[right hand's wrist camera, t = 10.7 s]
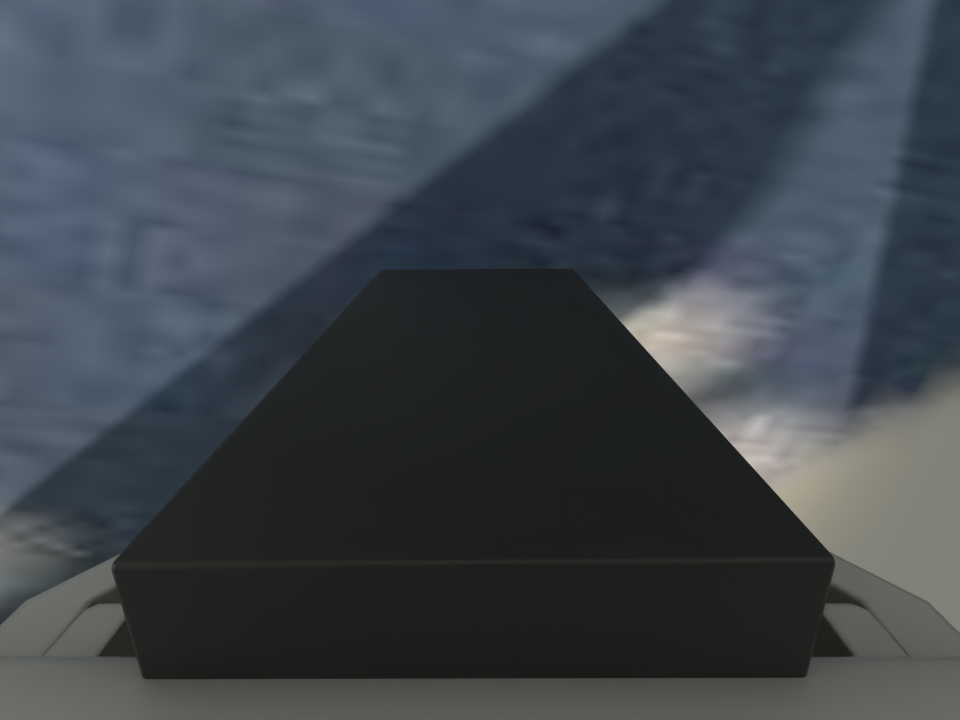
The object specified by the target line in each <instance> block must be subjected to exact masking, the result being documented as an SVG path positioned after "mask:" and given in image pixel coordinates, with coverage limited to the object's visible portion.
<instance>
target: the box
mask: <svg viewBox="0 0 960 720" xmlns="http://www.w3.org/2000/svg"><path fill="white" fill-rule="evenodd" d="M834 569H835V560H834V557H833V556H832V555H831V554H830V553H829V551H828V550H827V549H826V548H825V547H824V546H823V545H822V544H821V543H820V542H819V540H818V539H817V538H816V537H815V536H814V535H813V534H812V533H811V532H810V531H809V529H808V528H807V527H806V526H805V525H804V524H803V523H802V522H801V521H800V519H799V518H798V517H797V516H796V515H795V514H794V513H793V512H792V511H791V510H790V508H789V507H788V506H787V505H786V504H785V503H784V502H783V501H782V500H781V499H780V497H779V496H778V495H777V494H776V493H775V492H774V491H773V490H772V489H771V487H770V486H769V485H768V484H767V483H766V482H765V481H764V480H763V479H762V478H761V476H760V475H759V474H758V473H757V472H756V471H755V470H754V469H753V468H752V467H751V465H750V464H749V463H748V462H747V461H746V460H745V459H744V458H743V457H742V455H741V454H740V453H739V452H738V451H737V450H736V449H735V448H734V447H733V446H732V444H731V443H730V442H729V441H728V440H727V439H726V438H725V437H724V436H723V434H722V433H721V432H720V431H719V430H718V429H717V428H716V427H715V426H714V425H713V423H712V422H711V421H710V420H709V419H708V418H707V417H706V416H705V415H704V414H703V412H702V411H701V410H700V409H699V408H698V407H697V406H696V405H695V404H694V402H693V401H692V400H691V399H690V398H689V397H688V396H687V395H686V394H685V393H684V391H683V390H682V389H681V388H680V387H679V386H678V385H677V384H676V383H675V382H674V380H673V379H672V378H671V377H670V376H669V375H668V374H667V373H666V372H665V370H664V369H663V368H662V367H661V366H660V365H659V364H658V363H657V362H656V361H655V359H654V358H653V357H652V356H651V355H650V354H649V353H648V352H647V351H646V349H645V348H644V347H643V346H642V345H641V344H640V343H639V342H638V341H637V340H636V338H635V337H634V336H633V335H632V334H631V333H630V332H629V331H628V330H627V329H626V327H625V326H624V325H623V324H622V323H621V322H620V321H619V320H618V319H617V317H616V316H615V315H614V314H613V313H612V312H611V311H610V310H609V309H608V308H607V306H606V305H605V304H604V303H603V302H602V301H601V300H600V299H599V298H598V297H597V295H596V294H595V293H594V292H593V291H592V290H591V289H590V288H589V287H588V285H587V284H586V283H585V282H584V281H583V280H582V279H581V278H580V277H579V276H578V274H577V273H576V272H575V271H574V270H573V269H471V270H381V271H380V272H379V273H378V274H377V275H376V277H375V278H374V279H373V280H372V281H371V282H370V283H369V284H368V285H367V286H366V287H365V289H364V290H363V291H362V292H361V293H360V294H359V295H358V296H357V297H356V298H355V299H354V301H353V302H352V303H351V304H350V305H349V306H348V307H347V308H346V309H345V310H344V311H343V312H342V314H341V315H340V316H339V317H338V318H337V319H336V320H335V321H334V322H333V323H332V324H331V326H330V327H329V328H328V329H327V330H326V331H325V332H324V333H323V334H322V335H321V336H320V337H319V339H318V340H317V341H316V342H315V343H314V344H313V345H312V346H311V347H310V348H309V349H308V351H307V352H306V353H305V354H304V355H303V356H302V357H301V358H300V359H299V360H298V361H297V363H296V364H295V365H294V366H293V367H292V368H291V369H290V370H289V371H288V372H287V373H286V374H285V376H284V377H283V378H282V379H281V380H280V381H279V382H278V383H277V384H276V385H275V386H274V388H273V389H272V390H271V391H270V392H269V393H268V394H267V395H266V396H265V397H264V398H263V400H262V401H261V402H260V403H259V404H258V405H257V406H256V407H255V408H254V409H253V410H252V411H251V413H250V414H249V415H248V416H247V417H246V418H245V419H244V420H243V421H242V422H241V423H240V425H239V426H238V427H237V428H236V429H235V430H234V431H233V432H232V433H231V434H230V435H229V437H228V438H227V439H226V440H225V441H224V442H223V443H222V444H221V445H220V446H219V447H218V448H217V450H216V451H215V452H214V453H213V454H212V455H211V456H210V457H209V458H208V459H207V460H206V462H205V463H204V464H203V465H202V466H201V467H200V468H199V469H198V470H197V471H196V472H195V473H194V475H193V476H192V477H191V478H190V479H189V480H188V481H187V482H186V483H185V484H184V485H183V487H182V488H181V489H180V490H179V491H178V492H177V493H176V494H175V495H174V496H173V497H172V499H171V500H170V501H169V502H168V503H167V504H166V505H165V506H164V507H163V508H162V509H161V510H160V512H159V513H158V514H157V515H156V516H155V517H154V518H153V519H152V520H151V521H150V522H149V524H148V525H147V526H146V527H145V528H144V529H143V530H142V531H141V532H140V533H139V534H138V536H137V537H136V538H135V539H134V540H133V541H132V542H131V543H130V544H129V545H128V546H127V547H126V549H125V550H124V551H123V552H122V553H121V554H120V555H119V556H118V557H117V558H116V559H115V561H114V562H113V564H112V568H111V571H112V574H113V578H114V581H115V585H116V588H117V592H118V595H119V599H120V602H121V606H122V609H123V613H124V616H125V619H126V623H127V626H128V630H129V633H130V637H131V640H132V644H133V647H134V651H135V654H136V658H137V661H138V665H139V668H140V672H141V675H142V678H144V679H490V678H803V677H806V676H807V672H808V668H809V664H810V661H811V657H812V653H813V649H814V645H815V641H816V638H817V634H818V630H819V626H820V622H821V619H822V615H823V611H824V607H825V603H826V600H827V596H828V592H829V588H830V584H831V580H832V577H833V573H834Z"/></svg>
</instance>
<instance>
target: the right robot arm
mask: <svg viewBox="0 0 960 720" xmlns="http://www.w3.org/2000/svg"><path fill="white" fill-rule="evenodd" d="M829 553H830V554H831V555H832V556H833V557H834V560H835V569H834V573H833V577H832V580H831V584H830V588H829V592H828V596H827V600H826V603H825V607H824V611H823V615H822V619H821V622H820V626H819V630H818V634H817V638H816V641H815V645H814V649H813V653H812V657H811V661H810V664H809V668H808V672H807V676H806V677H803V678H490V679H144V678H142V675H141V672H140V668H139V665H138V661H137V658H136V654H135V651H134V647H133V644H132V640H131V637H130V633H129V630H128V626H127V623H126V619H125V616H124V613H123V609H122V606H121V602H120V599H119V595H118V592H117V588H116V585H115V581H114V578H113V574H112V571H111V568H112V564H113V562H114V561H115V559H116V558H117V557H118V556H119V555H120V554H119V555H117V556H115V557H113V558H111V559H108V560H106V561H104V562H102V563H100V564H98V565H96V566H94V567H92V568H90V569H88V570H86V571H84V572H82V573H80V574H78V575H76V576H74V577H72V578H70V579H68V580H66V581H64V582H62V583H60V584H58V585H56V586H54V587H52V588H50V589H48V590H46V591H44V592H42V593H40V594H38V595H36V596H34V597H32V598H30V599H28V600H26V601H25V602H24V603H23V604H22V605H21V606H20V607H19V608H18V609H16V610H15V611H14V612H13V613H12V614H11V615H10V616H9V617H8V618H7V619H6V620H5V621H4V622H3V623H2V624H1V625H0V720H960V633H959V632H958V631H957V630H956V629H955V628H954V627H953V626H952V625H951V624H950V623H949V622H948V621H947V620H946V619H945V618H944V617H943V616H942V615H941V614H940V613H939V612H938V611H937V610H936V609H935V608H934V607H933V606H932V605H931V604H930V603H929V602H927V601H926V600H924V599H922V598H920V597H918V596H916V595H914V594H912V593H910V592H908V591H906V590H904V589H902V588H900V587H898V586H896V585H894V584H892V583H890V582H888V581H886V580H884V579H882V578H880V577H878V576H876V575H874V574H872V573H870V572H868V571H866V570H864V569H862V568H860V567H858V566H856V565H854V564H852V563H850V562H848V561H846V560H844V559H842V558H840V557H838V556H836V555H834V554H832V553H831V552H829Z"/></svg>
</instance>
